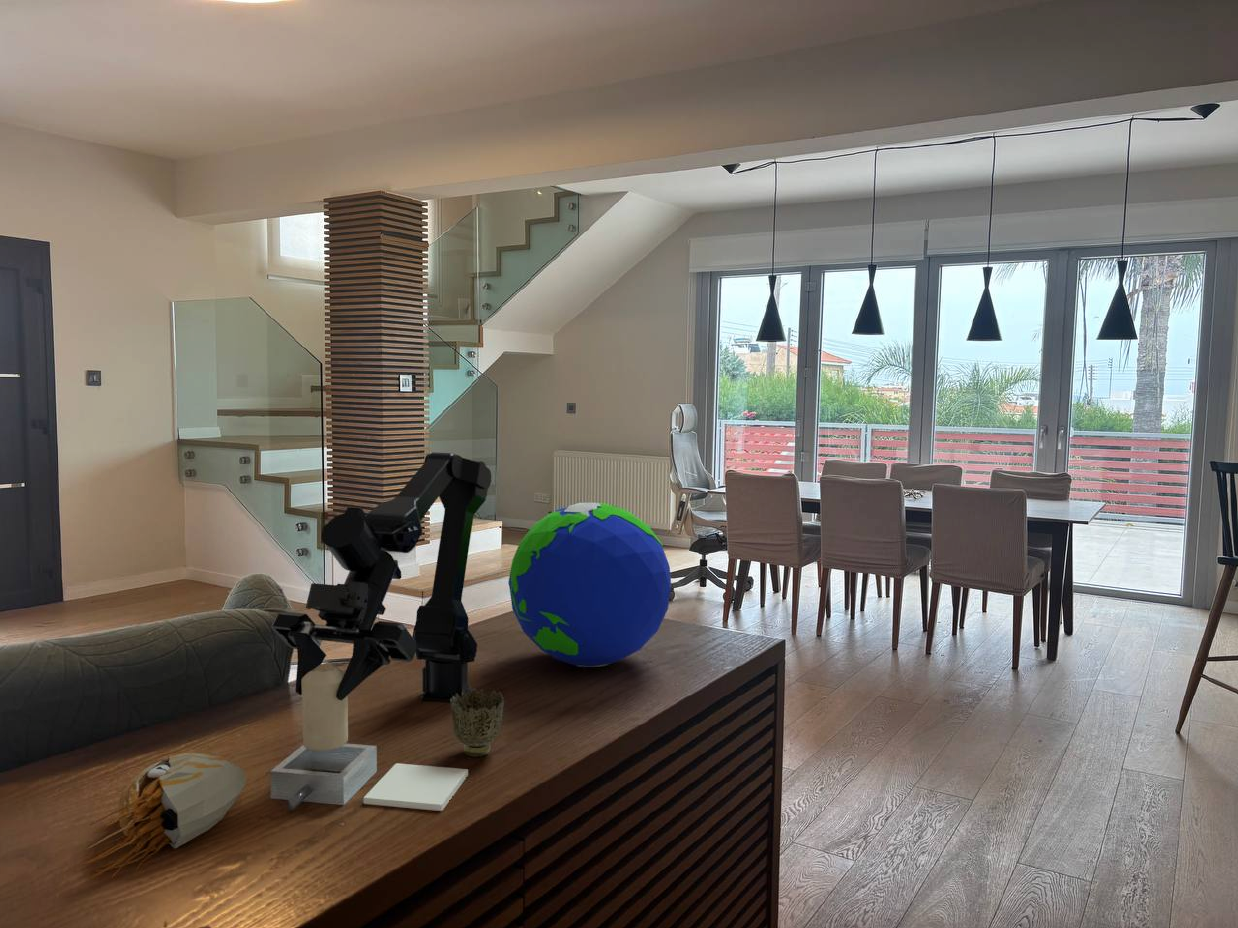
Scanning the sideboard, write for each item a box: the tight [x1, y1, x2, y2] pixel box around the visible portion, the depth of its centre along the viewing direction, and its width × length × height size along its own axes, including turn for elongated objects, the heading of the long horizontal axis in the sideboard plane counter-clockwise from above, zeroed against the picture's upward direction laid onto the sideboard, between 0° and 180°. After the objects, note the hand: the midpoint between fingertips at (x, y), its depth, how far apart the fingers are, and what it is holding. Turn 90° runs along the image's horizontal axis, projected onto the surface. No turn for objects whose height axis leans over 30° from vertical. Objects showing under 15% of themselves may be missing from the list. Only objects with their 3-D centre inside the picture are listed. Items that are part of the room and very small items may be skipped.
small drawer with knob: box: [269, 743, 378, 811], centre depth 113 cm, size 10×14×4 cm
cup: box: [449, 688, 505, 758], centre depth 125 cm, size 8×7×8 cm
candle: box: [301, 662, 349, 751], centre depth 114 cm, size 6×6×10 cm
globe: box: [508, 502, 672, 668], centre depth 164 cm, size 30×30×30 cm
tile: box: [363, 762, 469, 812], centre depth 114 cm, size 10×10×1 cm
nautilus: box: [78, 752, 247, 880], centre depth 101 cm, size 8×22×15 cm
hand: (318, 696), depth 112 cm, fingers closed on candle, 5 cm apart
